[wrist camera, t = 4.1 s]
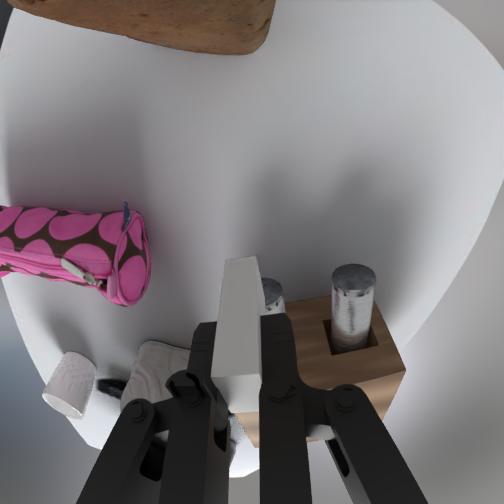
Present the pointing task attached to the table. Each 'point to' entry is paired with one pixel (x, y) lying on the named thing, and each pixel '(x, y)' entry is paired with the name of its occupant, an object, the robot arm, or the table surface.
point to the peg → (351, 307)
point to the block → (167, 21)
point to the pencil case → (78, 249)
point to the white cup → (71, 385)
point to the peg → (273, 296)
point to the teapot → (154, 372)
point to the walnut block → (338, 359)
